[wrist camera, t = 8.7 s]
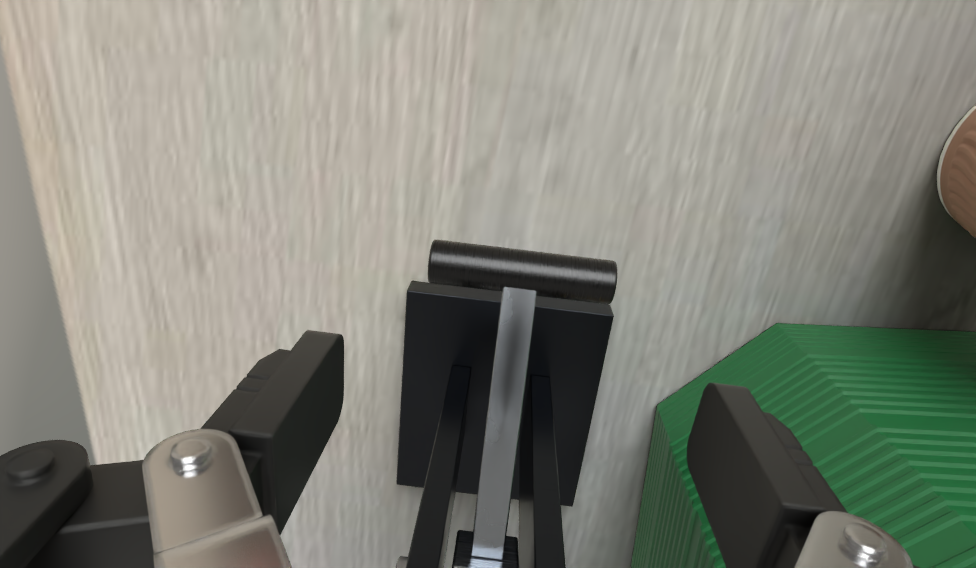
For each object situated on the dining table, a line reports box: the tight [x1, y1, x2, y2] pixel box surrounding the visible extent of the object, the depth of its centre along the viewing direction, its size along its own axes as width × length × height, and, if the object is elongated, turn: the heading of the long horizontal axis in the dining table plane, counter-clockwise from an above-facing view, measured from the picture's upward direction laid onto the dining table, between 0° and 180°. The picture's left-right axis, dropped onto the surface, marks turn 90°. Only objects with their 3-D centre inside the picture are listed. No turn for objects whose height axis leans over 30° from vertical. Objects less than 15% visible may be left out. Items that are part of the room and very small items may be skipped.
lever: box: [428, 240, 617, 568], centre depth 19 cm, size 13×6×2 cm, turn 174°
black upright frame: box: [396, 281, 614, 568], centre depth 24 cm, size 12×10×14 cm
